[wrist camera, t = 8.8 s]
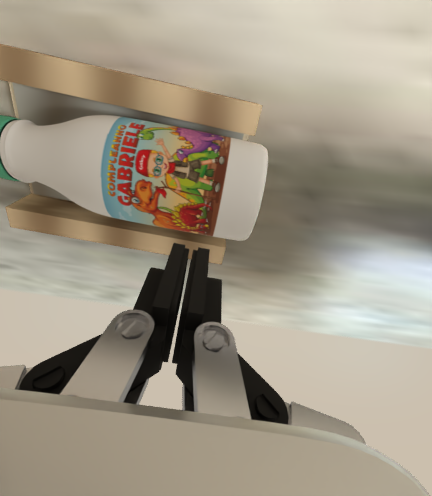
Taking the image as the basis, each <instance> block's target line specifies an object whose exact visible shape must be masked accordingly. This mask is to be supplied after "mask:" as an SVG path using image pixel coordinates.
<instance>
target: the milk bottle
mask: <svg viewBox="0 0 432 496" xmlns="http://www.w3.org/2000/svg"><path fill="white" fill-rule="evenodd" d="M267 167H268V151H267V148H265V147H264V146H262V145H261V144H258V143H254V142H249V141H245V140H240V139H235V138H230V137H225V136H220V135H215V134H211V133H206V132H201V131H196V130H191V129H186V128H181V127H175V126H170V125H165V124H160V123H155V122H149V121H144V120H139V119H133V118H126V117H120V116H111V115H92V116H85V117H81V118H77V119H74V120H70V121H67V122H64V123H59V124H54V125H45V126H38V125H36V124H34V123H33V122H31V121H29V120H21V119H18V118H14V117H10V116H3V115H0V178H4V179H8V180H13V181H22V182H25V183H32V182H35V181H36V182H39V183H42V184H44V185H46V186H48V187H51V188H52V189H54V190H56V191H58V192H59V193H61V194H62V195H64V196H65V197H67V198H68V199H70V200H71V201H73V202H74V203H76V204H78V205H79V206H81V207H83V208H85V209H87V210H90V211H92V212H95V213H98V214H101V215H104V216H108V217H112V218H117V219H121V220H126V221H131V222H136V223H141V224H147V225H152V226H157V227H163V228H168V229H174V230H179V231H185V232H190V233H196V234H201V235H207V236H213V237H218V238H224V239H230V240H237V241H243V240H247V239H248V238H249V236H250V235H251V233H252V230H253V228H254V225H255V223H256V220H257V217H258V213H259V210H260V206H261V202H262V198H263V193H264V188H265V183H266V176H267Z"/></svg>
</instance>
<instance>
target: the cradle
mask: <svg viewBox="0 0 432 496" xmlns="http://www.w3.org/2000/svg"><path fill="white" fill-rule="evenodd" d="M0 80H4V81H8V82H9V87H10V92H11V97H12V102H13V107H14V112H15V117H16V118H18V119H21V120H29V121H31V122H33V123H34V124H36V125H38V126H45V125H54V124H59V123H64V122H67V121H70V120H74V119H77V118H81V117H85V116H92V115H111V116H120V117H126V118H133V119H139V120H144V121H149V122H155V123H160V124H165V125H170V126H175V127H181V128H186V129H191V130H196V131H201V132H206V133H211V134H215V135H220V136H225V137H230V138H235V139H240V140H245V141H248V138H249V135H252V136H255V133H256V129H257V125H258V121H259V117H260V113H261V109H262V105H259V104H257V103H253V102H249V101H244V100H240V99H236V98H231V97H227V96H223V95H219V94H214V93H210V92H206V91H201V90H197V89H193V88H188V87H184V86H180V85H175V84H171V83H167V82H163V81H158V80H154V79H150V78H145V77H141V76H137V75H132V74H128V73H124V72H120V71H115V70H111V69H107V68H102V67H98V66H94V65H89V64H85V63H81V62H77V61H72V60H68V59H64V58H59V57H55V56H51V55H46V54H42V53H38V52H33V51H29V50H25V49H21V48H16V47H12V46H8V45H3V44H0ZM29 187H30V192H31V194H29V195H27V196H26V197H24V198H22V199H20V200H18V201H16V202H14V203H12V204H11V205H9V206H7V207H5V208H6V212H7V216H8V219H9V223H10V227H13V228H19V229H24V230H30V231H36V232H41V233H47V234H53V235H58V236H64V237H69V238H75V239H81V240H86V241H92V242H98V243H103V244H109V245H114V246H120V247H126V248H131V249H137V250H143V251H148V252H154V253H159V254H165V255H170V252H171V249H172V246H173V243H178V244H183V245H185V248H188V249H189V255H188V259H191V258H192V253H193V249H194V250H198V247H200V248H205V249H210V253H209V262H210V263H216V264H222V260H223V256H224V253H225V249H226V239H224V238H218V237H213V236H207V235H201V234H196V233H190V232H185V231H179V230H174V229H168V228H163V227H157V226H152V225H147V224H141V223H136V222H131V221H126V220H121V219H117V218H112V217H108V216H104V215H101V214H98V213H95V212H92V211H90V210H87V209H85V208H83V207H81V206H79V205H78V204H76V203H74V202H73V201H71V200H70V199H68V198H67V197H65V196H64V195H62V194H61V193H59V192H58V191H56V190H54V189H52V188H51V187H48V186H46V185H44V184H42V183H39V182H36V181H35V182H32V183H29Z"/></svg>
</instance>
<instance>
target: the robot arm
mask: <svg viewBox="0 0 432 496" xmlns="http://www.w3.org/2000/svg"><path fill="white" fill-rule="evenodd" d="M209 253H210V249H205V248H200V247H198V250H194V249H193V253H192V258H191V263H190V268H189V273H188V278H187V283H186V288H185V294H184V299H183V304H182V309H181V314H180V320H179V326H178V332H177V337H176V343H175V349H174V355H173V360H172V363H176V364H177V369H176V375H177V376H178V377H179V379H180V380H181V381H182V383H183V387H182V398H183V399H182V400H183V401H182V402H183V403H182V406H183V408H182V410H176V409H167V408H160V407H153V406H145V405H139V403H140V401H141V399H142V396H143V393H144V391H145V389H146V387H147V384H148V381H149V378H150V377H152V376H153V375H154V374H156V373H158V372H159V370H161V366H162V362H168V358H169V354H170V349H171V344H172V339H173V335H174V330H175V325H176V320H177V315H178V311H179V306H180V301H181V296H182V290H183V284H184V278H185V272H186V267H187V261H188V255H189V249H188V248H185V245H183V244H178V243H173V246H172V249H171V252H170V255H169V258H168V261H167V264H166V267H165V270H163V269H157V268H150V270H149V273H148V275H147V277H146V280H145V282H144V285H143V287H142V289H141V292H140V294H139V297H138V299H137V302H136V304H135V306H134V309H133V310H127V311H124V312H122V313H120V314H118V315H117V316H116V317H115V318H114V319H113V320H112V321H111V323H110V324H109V326H108V327H107V328H106V330H105V331H104V333H103V334H101V335H99V336H97V337H95V338H92V339H90V340H88V341H86V342H84V343H82V344H79V345H77V346H75V347H73V348H71V349H69V350H67V351H65V352H62V353H60V354H58V355H56V356H54V357H52V358H49V359H47V360H45V361H43V362H41V363H40V364H38V365H36V366H34V367H33V368H26V366H25V365H17V366H3V367H0V496H430V495H429V493H428V492H427V491H426V489H425V488H424V487H423V486H422V485H421V484H420V482H419V481H418V480H417V479H416V478H415V477H414V476H413V475H412V474H411V473H410V472H408V471H407V470H406V469H405V468H403V467H402V466H401V465H400V464H398V463H397V462H395V461H394V460H392V459H391V458H389V457H387V456H386V455H384V454H382V453H381V452H379V451H377V450H376V449H374V448H372V447H370V446H368V445H366V443H365V441H364V439H363V438H362V436H361V435H360V433H359V432H358V431H357V430H356V429H355V428H354V427H353V426H351V425H349V424H348V423H346V422H344V421H341V420H339V419H336V418H333V417H331V416H328V415H326V414H323V413H320V412H318V411H315V410H313V409H310V408H307V407H305V406H302V405H300V404H297V403H295V402H291V404H289V403H286V402H284V401H283V400H282V398H281V397H280V396H279V394H278V393H277V392H276V391H275V390H274V389H273V388H272V387H271V386H270V385H269V384H268V383H267V382H266V381H265V380H264V379H263V378H262V377H261V376H260V375H259V374H258V373H257V372H256V371H255V370H254V369H253V368H252V367H251V366H250V365H249V364H248V363H247V362H246V361H245V360H244V359H243V358H242V357H241V356H240V355H239V354H238V353H237V349H236V345H235V340H234V337H233V334H232V332H231V331H230V330H229V329H228V328H227V327H226V326H224V325H223V324H221V298H222V280H221V279H215V278H209V277H207V275H208V264H209Z"/></svg>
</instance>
